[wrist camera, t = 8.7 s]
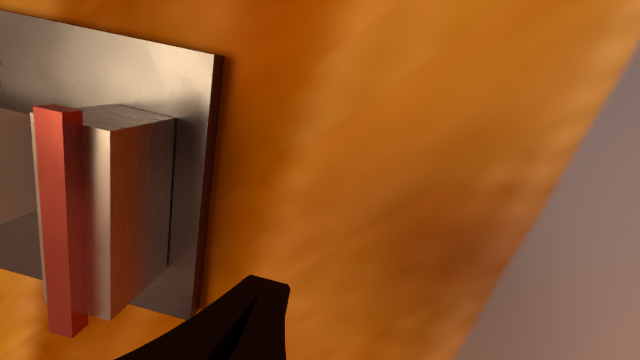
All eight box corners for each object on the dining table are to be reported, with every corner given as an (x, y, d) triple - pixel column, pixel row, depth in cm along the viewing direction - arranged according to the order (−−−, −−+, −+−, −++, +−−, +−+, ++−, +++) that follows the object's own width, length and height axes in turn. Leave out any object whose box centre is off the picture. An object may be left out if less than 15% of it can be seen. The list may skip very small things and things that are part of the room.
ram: (165, 277, 18) (95, 345, 13) (113, 263, 18) (27, 324, 14) (176, 106, 15) (90, 119, 10) (114, 92, 15) (4, 99, 11)
